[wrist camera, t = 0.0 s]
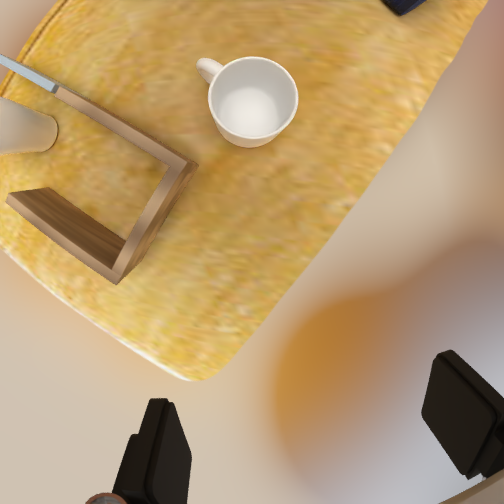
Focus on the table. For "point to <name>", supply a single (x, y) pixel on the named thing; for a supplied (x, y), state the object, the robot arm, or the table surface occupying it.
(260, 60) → the mug
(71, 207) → the u-shaped wooden frame
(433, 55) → the table surface
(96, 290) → the table surface
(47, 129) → the drinking glass
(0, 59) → the thin blue-gray plank
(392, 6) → the book
